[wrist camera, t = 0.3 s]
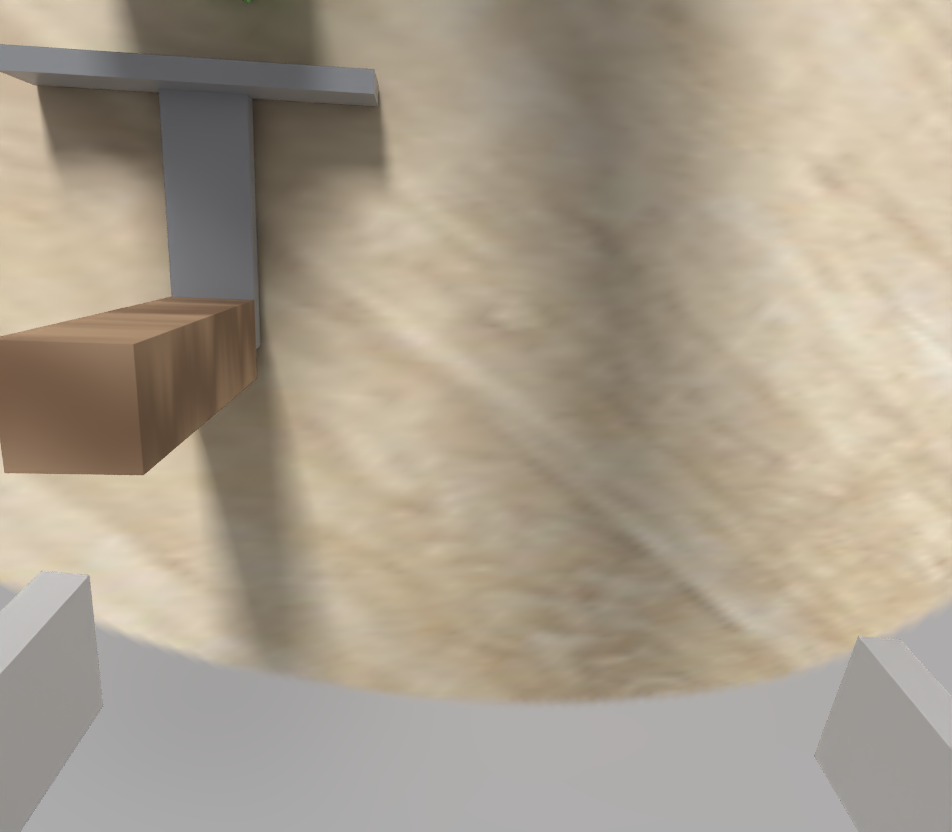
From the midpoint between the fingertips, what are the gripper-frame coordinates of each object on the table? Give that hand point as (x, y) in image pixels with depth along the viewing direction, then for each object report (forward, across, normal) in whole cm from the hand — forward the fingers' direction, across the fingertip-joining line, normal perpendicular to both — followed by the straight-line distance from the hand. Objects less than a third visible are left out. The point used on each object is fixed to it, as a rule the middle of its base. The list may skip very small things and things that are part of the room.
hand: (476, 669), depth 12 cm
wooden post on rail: (+26, -13, +4) cm, 29 cm away
